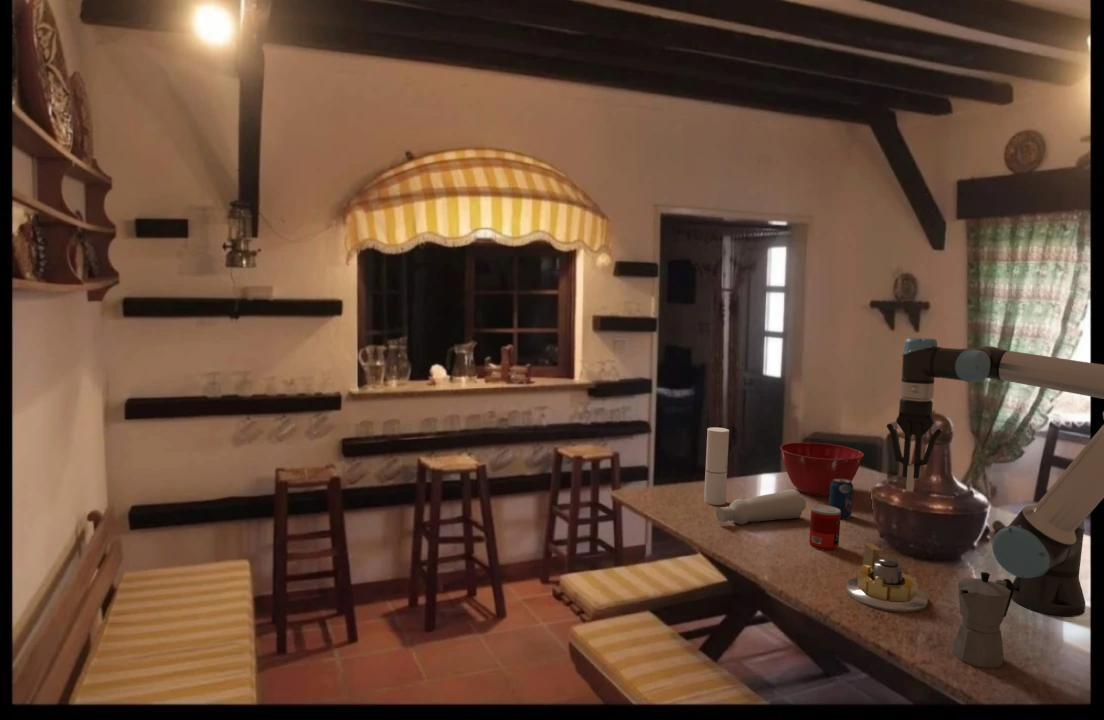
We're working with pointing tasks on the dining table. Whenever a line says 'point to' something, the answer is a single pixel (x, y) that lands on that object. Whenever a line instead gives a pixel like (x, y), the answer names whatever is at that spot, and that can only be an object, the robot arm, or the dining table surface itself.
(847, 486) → the soda can
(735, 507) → the bottle
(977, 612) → the coffeepot
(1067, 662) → the dining table surface
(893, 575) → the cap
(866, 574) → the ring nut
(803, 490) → the mixing bowl
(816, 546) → the canned food
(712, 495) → the cylindrical container
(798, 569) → the dining table surface
